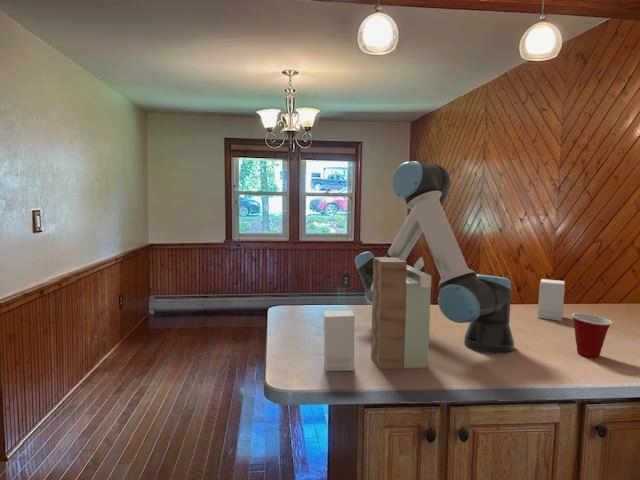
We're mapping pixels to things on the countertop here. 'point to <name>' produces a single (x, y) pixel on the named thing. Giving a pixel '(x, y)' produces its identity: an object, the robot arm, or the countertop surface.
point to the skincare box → (339, 340)
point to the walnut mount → (388, 312)
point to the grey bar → (418, 277)
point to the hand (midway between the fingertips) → (401, 261)
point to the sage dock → (416, 326)
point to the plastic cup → (590, 333)
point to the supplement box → (551, 299)
